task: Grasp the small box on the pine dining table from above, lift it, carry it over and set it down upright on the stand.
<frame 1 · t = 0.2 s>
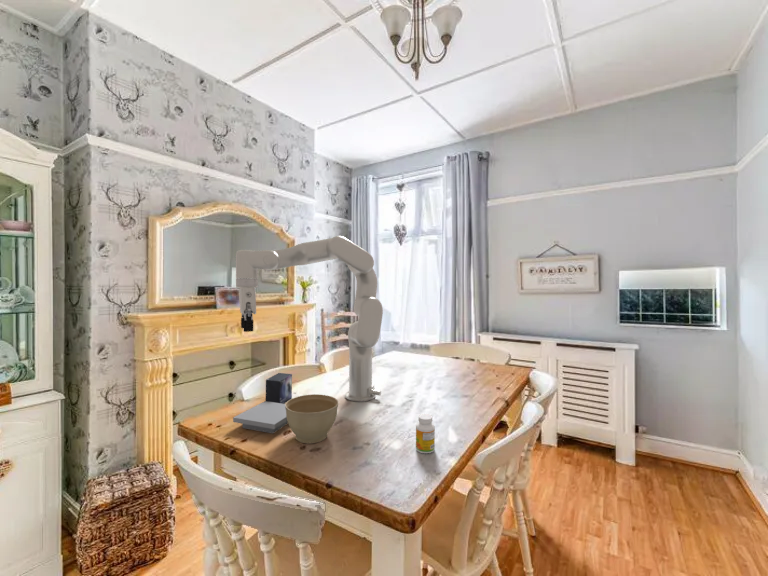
hand: (247, 329, 128), 30 cm above the table, tool pointing down, fingers open, 9 cm apart
small box: (279, 403, 137), on the table
planter bowl: (312, 437, 108), on the table
supplement bottle: (425, 450, 100), on the table
stand: (269, 423, 118), on the table
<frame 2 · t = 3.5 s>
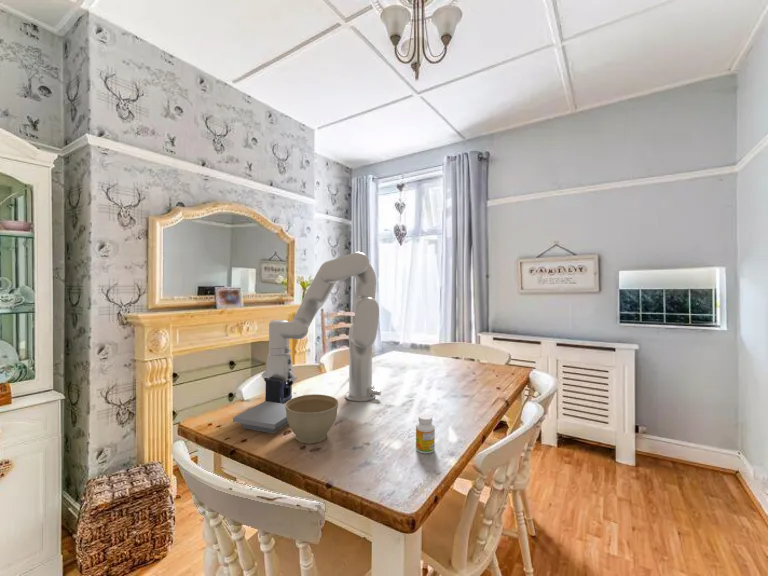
hand: (279, 395, 137), 3 cm above the table, tool pointing down, fingers closed on small box, 6 cm apart
small box: (279, 402, 137), on the table, touching gripper
everything else where it was.
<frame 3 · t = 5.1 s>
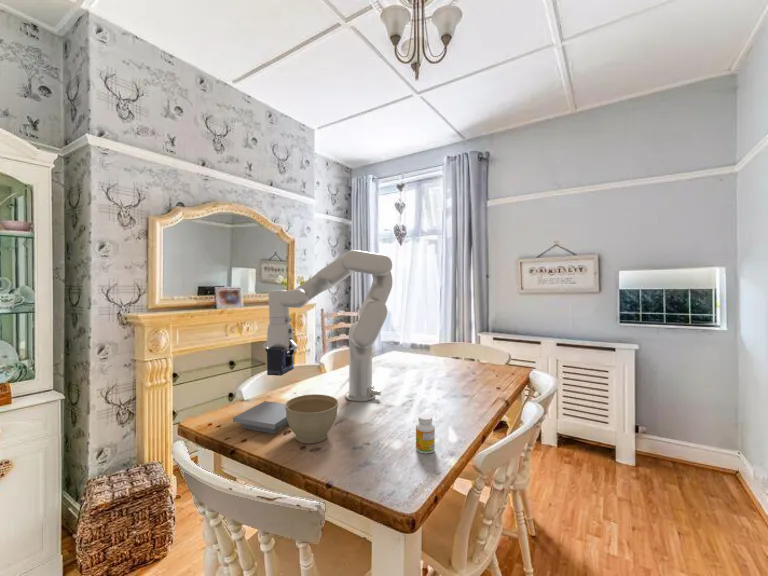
hand: (280, 365, 137), 15 cm above the table, tool pointing down, fingers closed on small box, 6 cm apart
small box: (281, 372, 137), point 12 cm above the table, touching gripper
everything else where it was.
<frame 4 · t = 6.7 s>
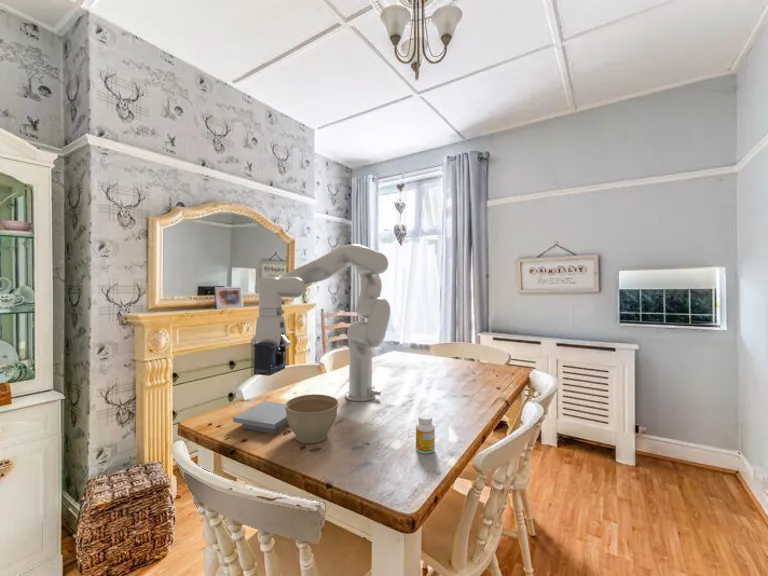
hand: (270, 363, 120), 20 cm above the table, tool pointing down, fingers closed on small box, 6 cm apart
small box: (270, 372, 120), point 17 cm above the table, touching gripper
everything else where it was.
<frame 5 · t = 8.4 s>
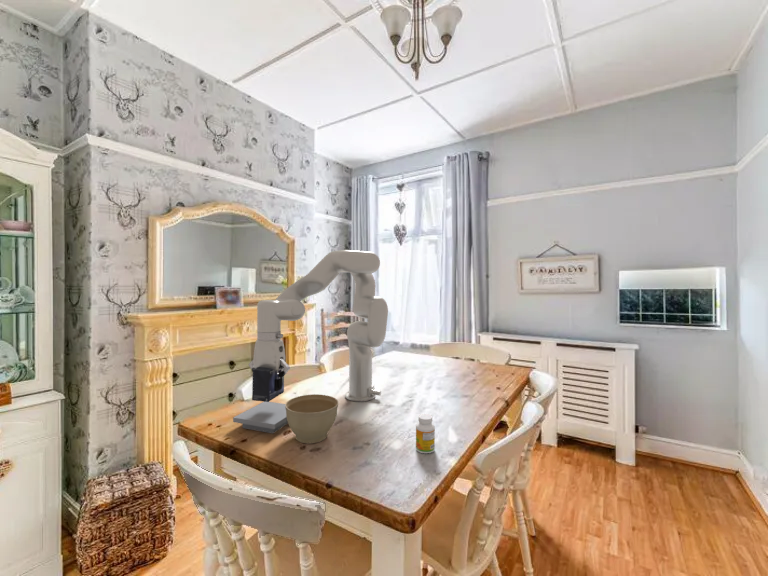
hand: (268, 388, 117), 12 cm above the table, tool pointing down, fingers closed on small box, 6 cm apart
small box: (268, 397, 117), point 9 cm above the table, touching gripper
everything else where it was.
when the fingers open (8 cm above the table, at t = 10.1 s): small box drops 1 cm, resting on stand.
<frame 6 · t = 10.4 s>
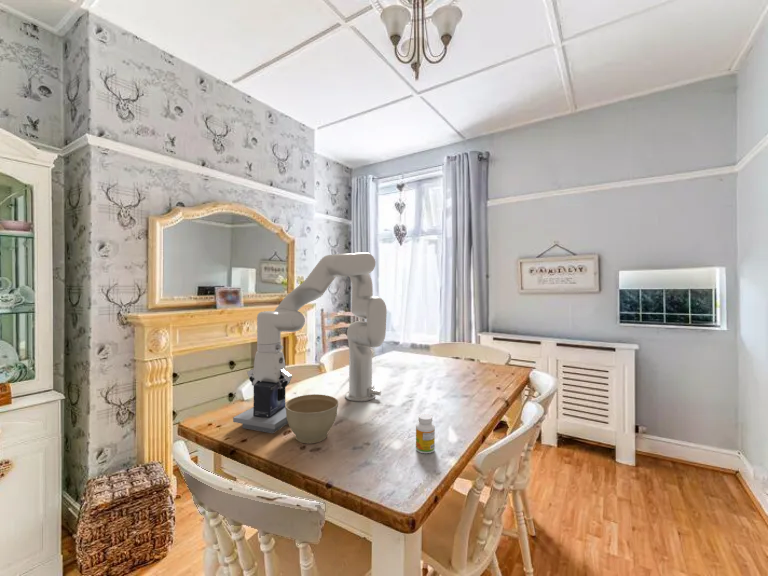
hand: (269, 397, 117), 9 cm above the table, tool pointing down, fingers open, 9 cm apart
small box: (270, 412, 118), point 4 cm above the table, touching stand
everything else where it was.
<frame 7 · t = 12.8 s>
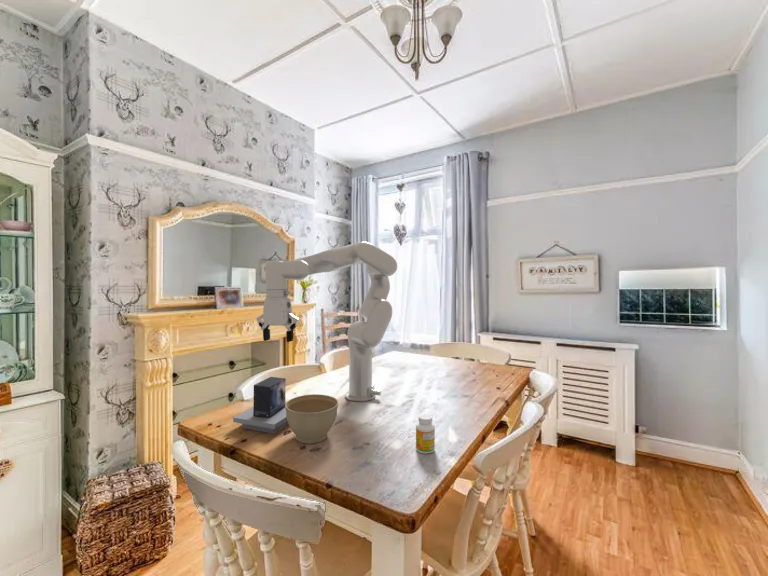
hand: (278, 340, 127), 27 cm above the table, tool pointing down, fingers open, 9 cm apart
nothing on the table moved.
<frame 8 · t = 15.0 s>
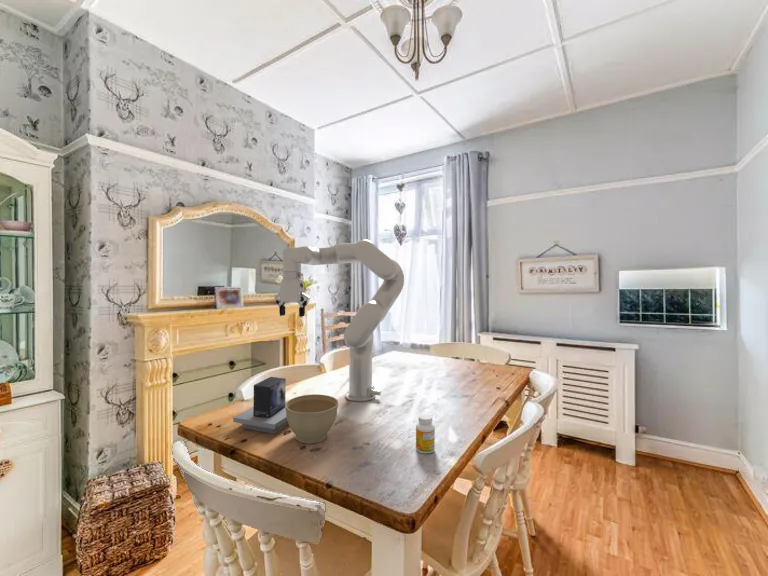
hand: (292, 315, 149), 33 cm above the table, tool pointing down, fingers open, 9 cm apart
nothing on the table moved.
at the end: small box inside the target area on the stand (0.3 cm from its centre), point 3.8 cm above the stand's base; small box tilted 0°; the gripper is holding nothing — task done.
